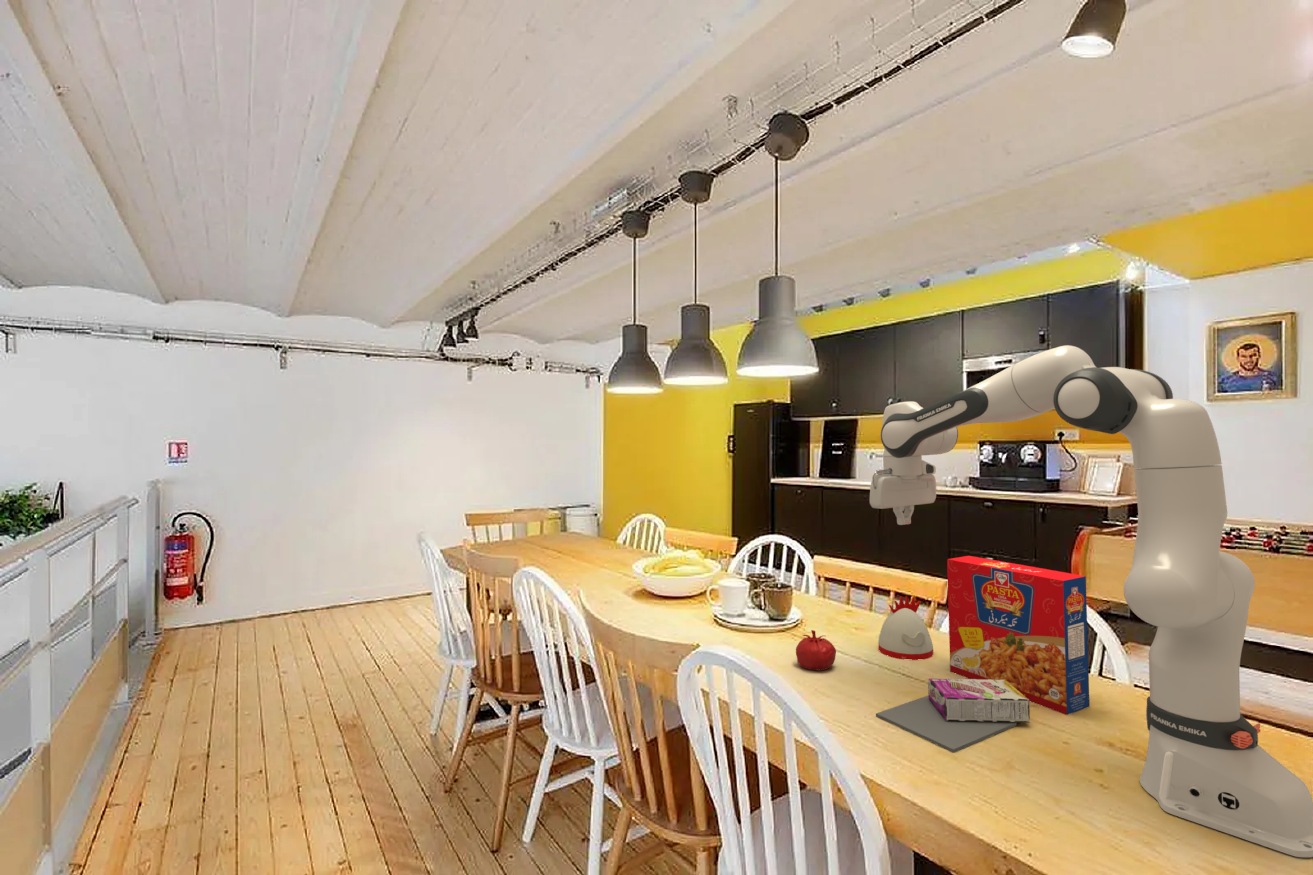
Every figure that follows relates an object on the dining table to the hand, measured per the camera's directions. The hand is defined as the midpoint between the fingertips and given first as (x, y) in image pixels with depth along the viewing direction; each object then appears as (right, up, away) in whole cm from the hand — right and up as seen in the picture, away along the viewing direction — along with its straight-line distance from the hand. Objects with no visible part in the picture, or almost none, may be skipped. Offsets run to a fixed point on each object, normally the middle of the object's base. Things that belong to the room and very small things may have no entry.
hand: (904, 524), depth 153 cm
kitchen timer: (+7, -37, +17) cm, 42 cm away
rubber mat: (-1, -37, -24) cm, 44 cm away
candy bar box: (-2, -34, -21) cm, 40 cm away
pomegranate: (-20, -38, +8) cm, 43 cm away
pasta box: (+22, -37, -9) cm, 44 cm away
